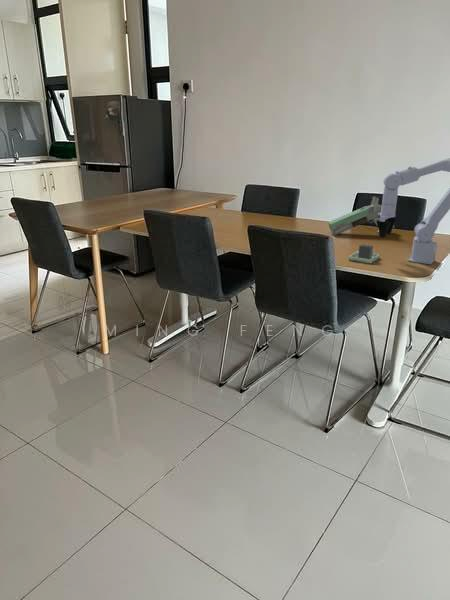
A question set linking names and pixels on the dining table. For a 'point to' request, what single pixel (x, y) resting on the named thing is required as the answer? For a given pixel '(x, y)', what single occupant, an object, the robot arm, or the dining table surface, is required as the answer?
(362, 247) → the plug
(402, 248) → the dining table surface
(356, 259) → the tray
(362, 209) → the long mint green beam
